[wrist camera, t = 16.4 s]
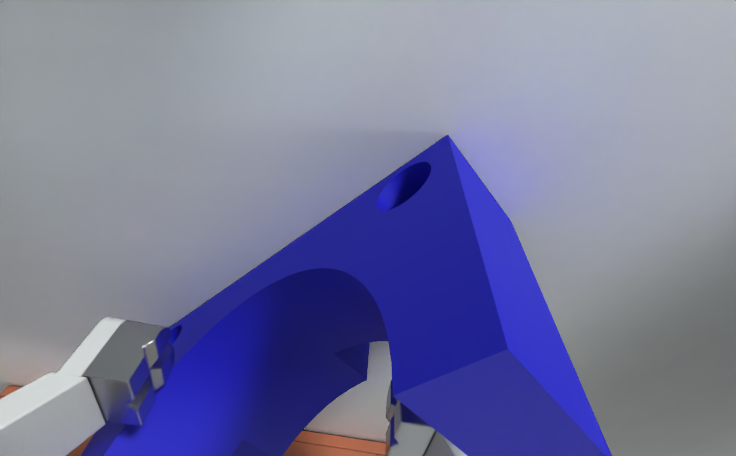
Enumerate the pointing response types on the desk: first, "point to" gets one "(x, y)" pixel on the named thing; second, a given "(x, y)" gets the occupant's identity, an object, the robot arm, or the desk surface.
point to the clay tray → (294, 443)
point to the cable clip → (377, 332)
